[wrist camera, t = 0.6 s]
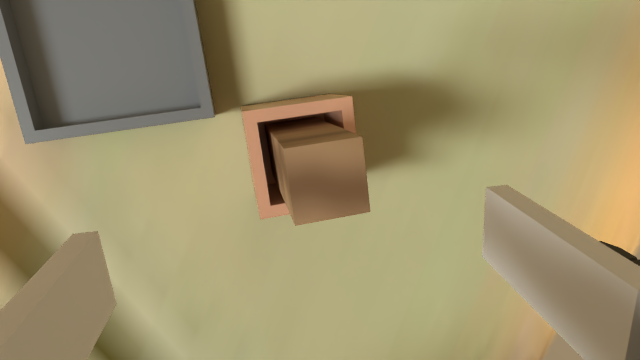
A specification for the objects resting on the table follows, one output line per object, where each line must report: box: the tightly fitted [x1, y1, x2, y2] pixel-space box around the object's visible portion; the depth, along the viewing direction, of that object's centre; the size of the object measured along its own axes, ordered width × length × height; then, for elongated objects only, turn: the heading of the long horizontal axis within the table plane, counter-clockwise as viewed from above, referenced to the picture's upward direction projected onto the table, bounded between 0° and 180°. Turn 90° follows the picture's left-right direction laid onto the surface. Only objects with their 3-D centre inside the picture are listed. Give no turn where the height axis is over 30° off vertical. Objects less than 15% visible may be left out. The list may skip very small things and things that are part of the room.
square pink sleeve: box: [240, 94, 356, 219], centre depth 41 cm, size 9×9×9 cm
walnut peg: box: [264, 117, 370, 226], centre depth 36 cm, size 5×5×17 cm
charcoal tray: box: [0, 0, 216, 144], centre depth 39 cm, size 16×16×3 cm
